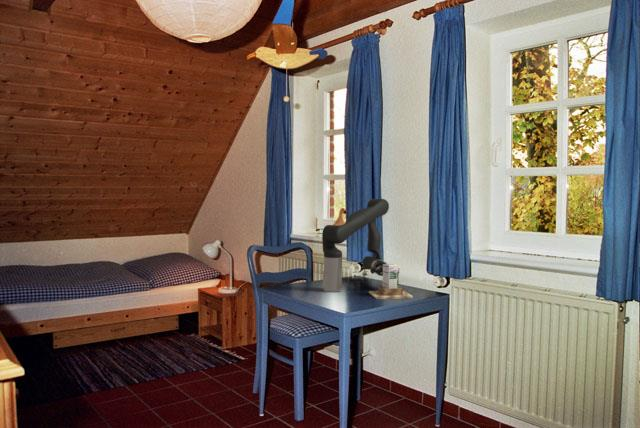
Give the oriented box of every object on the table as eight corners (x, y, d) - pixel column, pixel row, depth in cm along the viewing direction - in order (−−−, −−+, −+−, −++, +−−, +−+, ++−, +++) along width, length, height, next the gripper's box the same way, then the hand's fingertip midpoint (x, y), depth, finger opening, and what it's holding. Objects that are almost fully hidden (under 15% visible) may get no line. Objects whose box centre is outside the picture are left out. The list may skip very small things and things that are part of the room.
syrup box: (388, 295, 261) (389, 265, 260) (382, 292, 267) (382, 263, 266) (398, 294, 264) (399, 264, 263) (391, 291, 269) (392, 262, 268)
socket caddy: (376, 298, 257) (376, 290, 257) (368, 293, 271) (369, 284, 270) (412, 298, 260) (412, 289, 259) (403, 292, 273) (403, 284, 273)
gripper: (366, 260, 283) (374, 265, 267) (393, 260, 285) (402, 264, 269) (366, 274, 284) (374, 280, 267) (392, 274, 286) (402, 279, 270)
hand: (388, 272), depth 268 cm, fingers open, 8 cm apart
